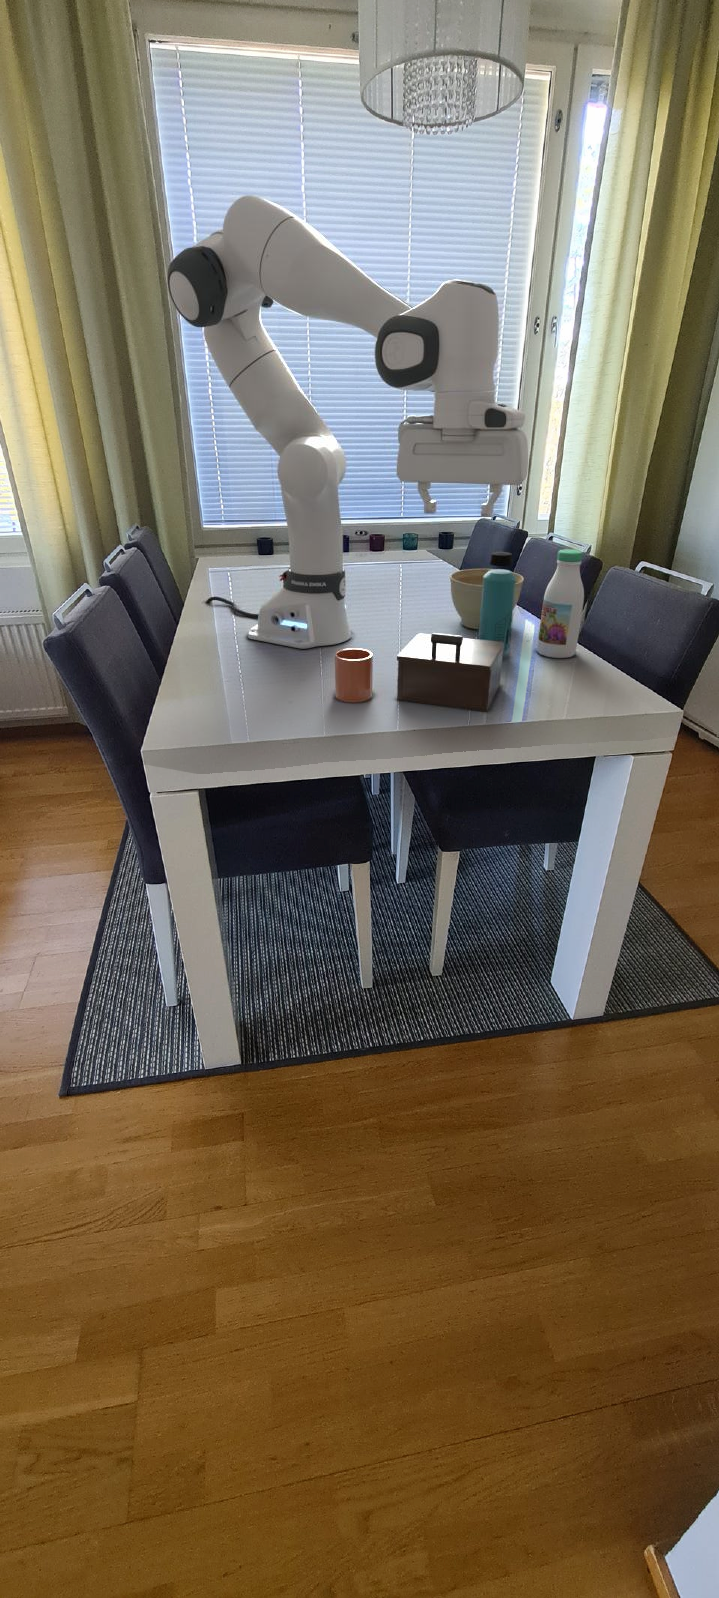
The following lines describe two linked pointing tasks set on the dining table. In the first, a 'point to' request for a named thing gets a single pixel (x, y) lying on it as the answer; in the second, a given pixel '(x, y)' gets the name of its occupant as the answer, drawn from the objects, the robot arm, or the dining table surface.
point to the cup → (353, 675)
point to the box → (448, 684)
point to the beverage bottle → (497, 601)
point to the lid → (451, 651)
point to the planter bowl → (473, 594)
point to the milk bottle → (562, 608)
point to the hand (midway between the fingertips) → (457, 514)
